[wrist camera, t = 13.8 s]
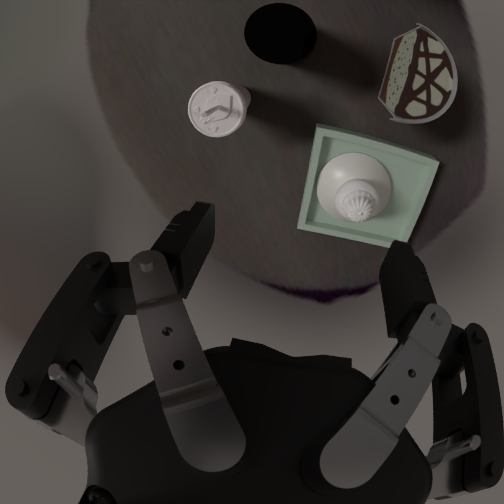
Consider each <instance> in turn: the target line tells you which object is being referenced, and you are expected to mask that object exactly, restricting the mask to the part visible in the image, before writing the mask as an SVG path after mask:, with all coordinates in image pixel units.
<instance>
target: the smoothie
mask: <svg viewBox="0 0 504 504" xmlns="http://www.w3.org/2000/svg"><path fill="white" fill-rule="evenodd" d="M250 102H251V95H250V93H249V91H248V90H247V89H246V88H244V87H242V86H237V85H231V84H229V83H226V82H221V81H215V82H210V83H207V84H205V85H203V86H201V87H199V88H198V89H197V90H196V91H195V92H194V93H193V94H192V96H191V98H190V100H189V104H188V114H189V118H190V120H191V122H192V124H193V125H194V127H195V128H196V129H197V130H198V131H200V132H201V133H203V134H205V135H207V136H211V137H223V136H226V135H229V134H231V133H233V132H234V131H236V130H237V129H238V128H239V127H240V126H241V125H242V123H243V121H244V119H245V117H246V112H247V108H248V106H249V104H250Z"/></svg>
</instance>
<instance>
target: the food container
mask: <svg viewBox="0 0 504 504" xmlns="http://www.w3.org/2000/svg"><path fill="white" fill-rule="evenodd" d="M416 25H418V26H419V27H417V28H415V29H413V30H410V31H408V32H406V33H404V34H402V35H400V36H398V37H396V38H394V41H393V45H392V49H391V53H390V56H389V60H388V64H387V68H386V71H385V75H384V78H383V82H382V85H381V89H380V92H379V95H378V99H379V100H380V101H381V102H382V103H383V105H384V106H385V107H386V108H387V109H388V110H389V112H390V113H391V114H392V115H393V117H394V118H390V120H393V121H396V122H400V123H406V124H422V123H427V122H430V121H432V120H434V119H436V118H438V117H439V116H441V115H442V114H443V113H445V112H446V110H447V109H448V108H449V107H450V105H451V104H452V102H453V100H454V98H455V95H456V91H457V83H458V78H457V70H456V66H455V63H454V60H453V57H452V55H451V53H450V52H449V50H448V48H447V47H446V45H445V44H444V43H443V41H442V40H441V39H440V38H439V37H438V36H437V35H436V34H434V33H433V32H432V31H431V30H429V29H428V28H427V27H425V26H423V25H422V24H418V23H417V24H416Z"/></svg>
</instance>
